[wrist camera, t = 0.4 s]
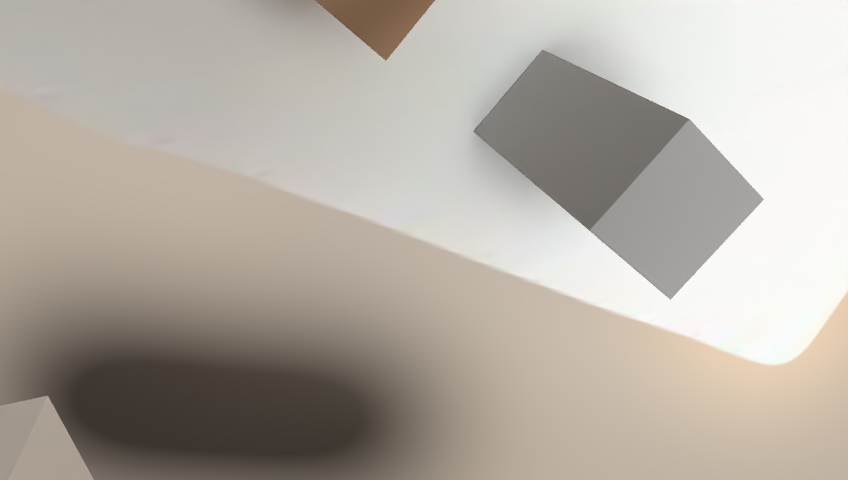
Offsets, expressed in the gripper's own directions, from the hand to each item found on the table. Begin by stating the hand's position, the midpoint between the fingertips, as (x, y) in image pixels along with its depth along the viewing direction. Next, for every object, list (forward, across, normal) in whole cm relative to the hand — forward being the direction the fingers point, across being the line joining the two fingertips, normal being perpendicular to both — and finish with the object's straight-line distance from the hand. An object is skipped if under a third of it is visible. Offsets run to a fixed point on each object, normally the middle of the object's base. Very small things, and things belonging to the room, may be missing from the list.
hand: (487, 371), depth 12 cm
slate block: (+26, +7, -7) cm, 28 cm away
